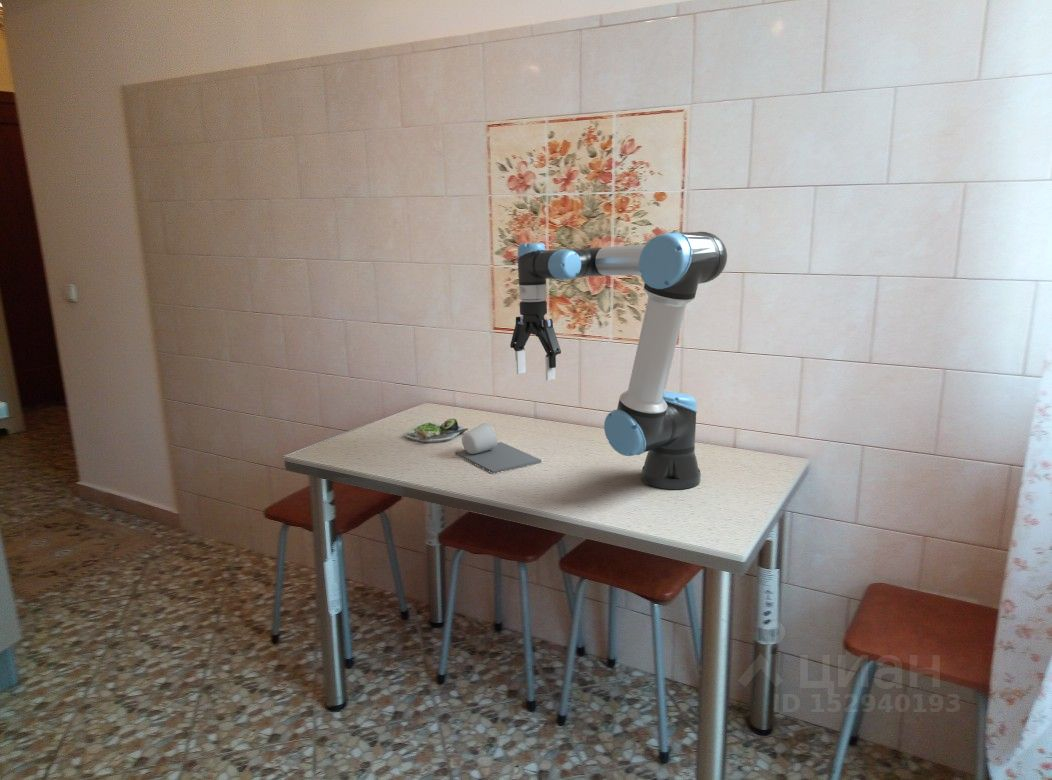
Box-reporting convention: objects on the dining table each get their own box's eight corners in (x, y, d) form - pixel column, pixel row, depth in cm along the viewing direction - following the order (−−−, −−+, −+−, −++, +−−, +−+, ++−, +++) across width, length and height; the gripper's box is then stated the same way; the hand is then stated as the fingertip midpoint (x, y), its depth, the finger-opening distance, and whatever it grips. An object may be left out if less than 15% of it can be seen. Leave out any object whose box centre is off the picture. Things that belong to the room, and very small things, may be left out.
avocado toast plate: (443, 449, 220) (443, 434, 219) (393, 443, 227) (392, 428, 226) (472, 432, 238) (472, 418, 237) (425, 427, 245) (424, 413, 244)
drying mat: (541, 462, 206) (541, 459, 206) (493, 474, 197) (493, 471, 197) (501, 444, 223) (501, 442, 223) (455, 454, 214) (455, 451, 214)
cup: (450, 438, 216) (472, 430, 221) (461, 463, 215) (482, 454, 220) (468, 427, 207) (489, 419, 212) (479, 453, 207) (501, 444, 212)
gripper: (496, 299, 208) (499, 372, 213) (550, 303, 189) (552, 384, 193) (517, 297, 213) (520, 369, 217) (572, 301, 193) (574, 380, 197)
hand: (535, 376), depth 205 cm, fingers open, 13 cm apart
